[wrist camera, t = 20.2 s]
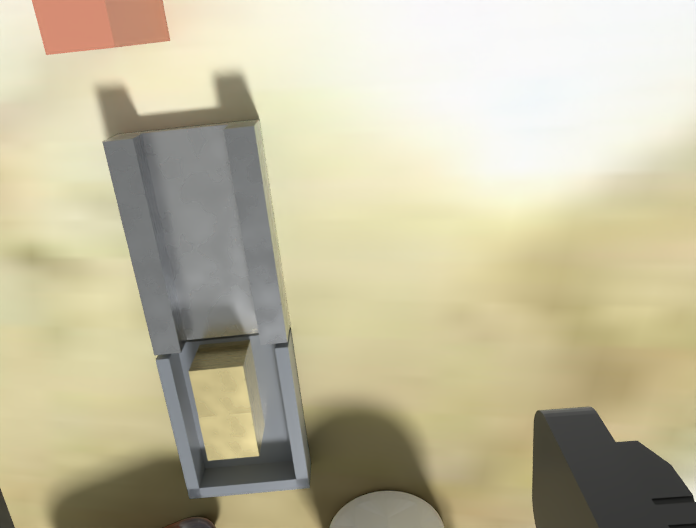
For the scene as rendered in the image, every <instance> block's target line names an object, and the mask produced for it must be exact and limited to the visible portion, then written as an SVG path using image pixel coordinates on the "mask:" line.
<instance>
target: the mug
mask: <svg viewBox="0 0 696 528" xmlns="http://www.w3.org/2000/svg"><path fill="white" fill-rule="evenodd" d="M329 528H444V525H443V522H442V520H441V518H440V516H439V514H438V513H437V512H436V510H435V509H434V508H433V507H432V506H431V505H430V504H428V503H427V502H426V501H424V500H422V499H421V498H419V497H417V496H414V495H411V494H408V493H404V492H398V491H378V492H373V493H368V494H365V495H362V496H360V497H358V498H355V499H354V500H352V501H350V502H349V503H347V504H346V505H345V506H343V507H342V508H341V509H340V510H339V511H338V512H337V514H336V515H335V516H334V518H333V520H332V522H331V524H330V527H329Z"/></svg>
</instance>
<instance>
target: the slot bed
mask: <svg viewBox="0 0 696 528" xmlns="http://www.w3.org/2000/svg"><path fill="white" fill-rule="evenodd" d="M103 146H104V150H105V154H106V158H107V162H108V166H109V170H110V174H111V179H112V183H113V187H114V191H115V195H116V199H117V203H118V207H119V211H120V216H121V220H122V224H123V228H124V232H125V236H126V240H127V244H128V248H129V252H130V257H131V261H132V265H133V269H134V273H135V277H136V281H137V285H138V289H139V294H140V298H141V302H142V306H143V310H144V314H145V318H146V322H147V326H148V331H149V335H150V339H151V343H152V347H153V351H154V355H163V354H174V353H181V352H182V350H183V347H184V345H185V343H186V341H187V340H192V339H202V338H213V337H223V336H233V335H243V334H254V333H259V338H260V344H261V345H266V344H277V343H287V342H288V335H289V329H290V320H289V313H288V306H287V300H286V293H285V286H284V280H283V273H282V266H281V260H280V253H279V246H278V240H277V233H276V226H275V220H274V213H273V206H272V199H271V193H270V186H269V179H268V173H267V166H266V159H265V153H264V146H263V139H262V133H261V126H260V119H256V120H247V121H237V122H228V123H218V124H209V125H199V126H190V127H180V128H171V129H161V130H152V131H142V132H132V133H123V134H117V135H115V136H113V137H111V138H109V139H107V140H105V141H103Z"/></svg>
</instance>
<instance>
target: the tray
mask: <svg viewBox="0 0 696 528" xmlns="http://www.w3.org/2000/svg"><path fill="white" fill-rule="evenodd" d="M244 340H250V342H251V347H252V353H253V359H254V364H255V370H256V376H257V381H258V389H259V395H260V400H261V406H262V412H263V417H264V423H265V427H264V432H263V438H262V444H261V449H260V455H259V456H255V457H244V458H233V459H222V460H211V461H208V459H207V454H206V450H205V445H204V441H203V436H202V432H201V427H200V423H199V418H198V412H197V408H196V403H195V399H194V394H193V390H192V385H191V381H190V376H189V372H188V371H189V369H190V367H191V364H192V362H193V360H194V357H195V355H196V352H197V350H198V348H199V345H203V344H213V343H224V342H234V341H244ZM156 363H157V367H158V372H159V376H160V380H161V384H162V388H163V392H164V396H165V400H166V404H167V409H168V413H169V417H170V421H171V425H172V429H173V433H174V437H175V441H176V446H177V450H178V454H179V458H180V462H181V466H182V470H183V474H184V478H185V482H186V487H187V491H188V495H189V499H195V498H206V497H217V496H228V495H239V494H249V493H260V492H271V491H282V490H293V489H304V488H310V475H311V460H310V453H309V446H308V440H307V433H306V426H305V420H304V413H303V406H302V400H301V393H300V386H299V380H298V373H297V366H296V360H295V353H294V346H293V340H292V333H291V329H289V335H288V342H287V343H277V344H266V345H261V344H260V338H259V333H254V334H243V335H233V336H223V337H213V338H202V339H192V340H187V341H186V343H185V345H184V347H183V350H182V352H181V353H174V354H163V355H158V357H157V358H156Z"/></svg>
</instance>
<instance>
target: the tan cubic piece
mask: <svg viewBox="0 0 696 528" xmlns="http://www.w3.org/2000/svg"><path fill="white" fill-rule="evenodd" d="M188 372H189V376H190V381H191V385H192V390H193V394H194V399H195V403H196V408H197V412H198V417H209V416H220V415H231V414H241V413H252V408H253V404H254V399H255V395H256V390H257V385H258V381H257V376H256V370H255V364H254V359H253V353H252V347H251V342H250V340H244V341H234V342H224V343H213V344H203V345H199V348H198V350H197V352H196V355H195V357H194V360H193V362H192V364H191V367H190V369H189V371H188Z"/></svg>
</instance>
